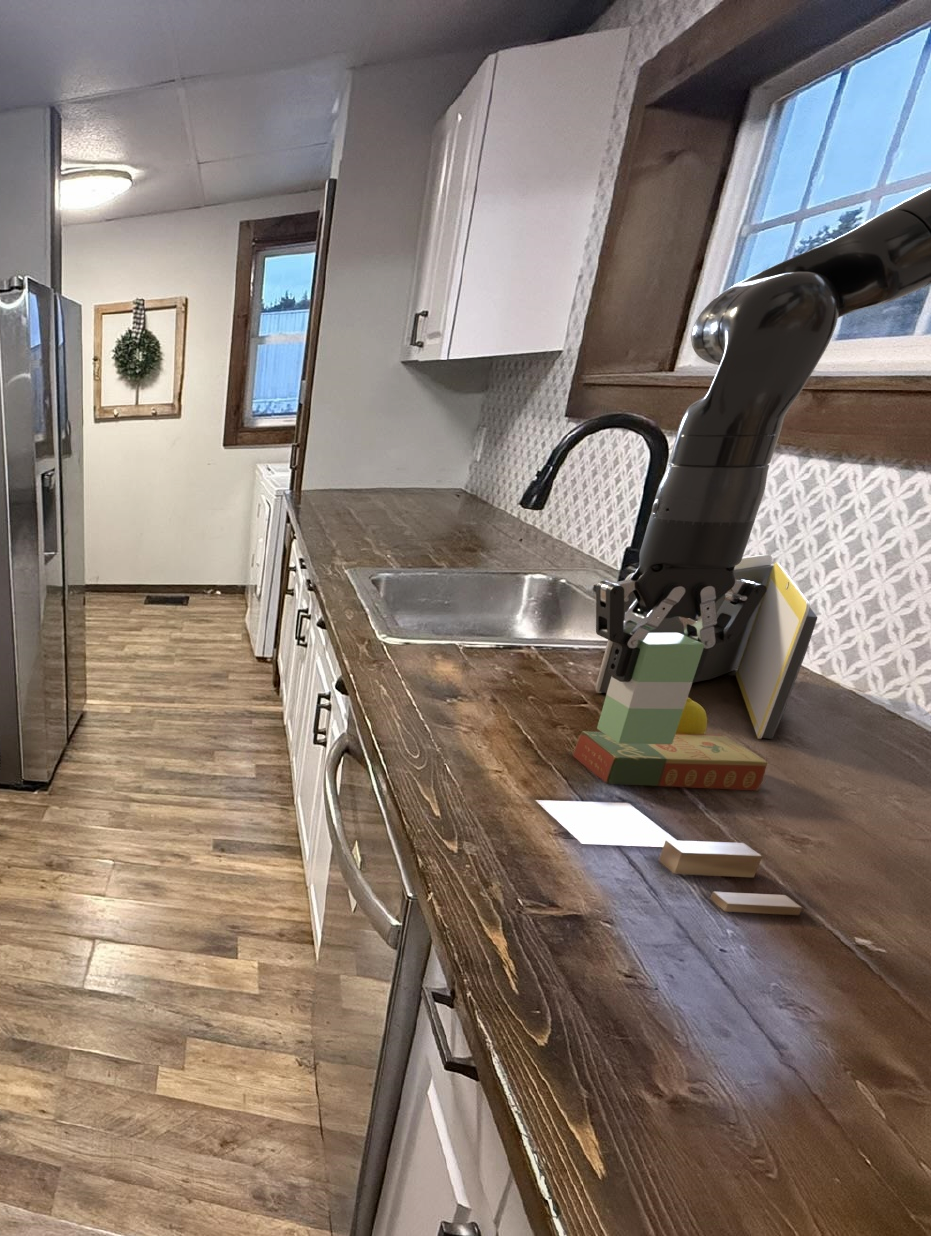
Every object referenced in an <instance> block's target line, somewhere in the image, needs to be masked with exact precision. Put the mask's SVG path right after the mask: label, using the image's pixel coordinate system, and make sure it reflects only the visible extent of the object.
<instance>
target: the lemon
mask: <svg viewBox="0 0 931 1236" xmlns="http://www.w3.org/2000/svg"><path fill="white" fill-rule="evenodd" d="M707 728H708V716H707V712H706V710H705V709H704V707H703V706H701V704H699V703H698V702H696V701H695V700H692V698H690V697H689V696H688V698H687V701H686V704H685V707H684V709H683V712H682V715H681V718H680V721H679V724H678V727H677V730H676V733H675V734H706V731H707Z"/></svg>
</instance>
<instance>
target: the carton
mask: <svg viewBox="0 0 931 1236" xmlns="http://www.w3.org/2000/svg"><path fill="white" fill-rule="evenodd" d="M572 757H573V758H575V759H576V760H577V761H578V762H579V763H581V765H583V766H584V767H585V768H587V769H588V770H589V771H591V772H592V774H594V775H595V776H596V777H598V778H599V779H601V781H602V782H604V783H605V784H608V785H629V786H630V785H633V786H650V787H651V786H654V787H655V786H656V787H674V788H675V787H676V788H697V789H719V790H720V789H721V790H743V791H744V790H745V791H759V790H760V787H761V786H762V782H763V780H764V777H765V773H766V770H767V766H768V761H766V760H765V759H764V758H762V757H761V756H759V755H757V754H756V753H754V752H752V751H751V750H750V749H748V748H747V747H744V746H742V745H741V744H739V743H737V742H735V741H734V740H732V739H730V738H728V737H727V736H725V735H723V734H708V733H707V734H706V733H705V734H675V736H674V739H673V742H672V744H619V743H617V742H616V741H614V740H613V739H611V738H610V737H608V736H607V735H606V734H604V733H603V732H601V731H589V730H588V731H587V730H584V731H581V733H580V734H579V737H578V738H577V742H576V745H575V747H574V751H573V755H572Z"/></svg>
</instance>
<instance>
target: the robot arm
mask: <svg viewBox="0 0 931 1236" xmlns="http://www.w3.org/2000/svg"><path fill="white" fill-rule="evenodd" d="M929 285H931V187H929V188H927V189H924V190H923V191H921V192H919V193H918V194H916V195H913V196H911V197H909V198H908V199H905V200H904V201H902V202H901V203H899V204H897V205H895V206H893V207H891V208H889V209H888V210H886V211H883V212H881V213H880V214H878V215H876V216H874V217H873V218H871V219H869V220H867V221H866V222H864V223H863V224H861V225H859V226H857V227H856V228H854V229H852V230H850V231H849V232H846V233H844V234H843V235H841V236H838V237H837V238H835V239H832V240H830V241H828V242H825V243H822V244H821V245H819V246H816V247H814V248H812V249H809V250H807V251H805V252H802V253H800V254H798V255H796V256H793V257H791V258H789V259H786V260H784V261H782V262H780V263H777V264H775V265H773V266H771V267H769V268H766V269H764V270H762V271H760V272H758V273H756V274H754V275H752V276H750V277H748V278H746V279H744V280H742V281H740V282H738V283H736V284H734V285H733V286H731V287H729V288H728V289H726V290H724V291H722V292H721V293H720V294H718V295H717V296H715V298H714V299H712V300H711V301H710V302H709V303H708V304H707V305H706V306H705V307H704V309H703V310H702V311H701V312H700V314H699V315H698V316H697V318H696V320H695V322H694V324H693V326H692V330H691V335H690V342H691V346H692V349H693V351H694V353H695V354H696V355H697V356H698V357H699V358H700V359H701V360H703V361H704V362H707V363H709V364H713V365H714V366H718V368H717V371H716V373H715V376H714V378H713V380H712V382H711V385H710V387H709V389H708V391H707V393H706V394H705V396H703V397H702V398H700V399H698V400H696V401H694V402H693V403H691V404H690V405H689V406H688V408H686V411H685V412H684V414H683V415H682V417H681V418H682V419H681V420H680V422H679V426H678V428H677V433H676V436H675V438H674V439H675V440H674V443H673V447H672V450H671V454H670V458H669V460H668V464H667V467H666V470H665V472H664V474H663V475H662V476H663V477H662V479H661V481H660V483H659V485H658V488H657V491H656V494H655V498H654V502H653V504H652V506H651V507H652V508H651V512H650V515H649V518H648V523H647V526H646V530H645V533H644V536H643V540H642V543H641V547H640V550H639V553H638V554H639V555H638V556H639V563H638V567H637V569H636V570H635V571H634V572H633V573H634V574H633V575H632V576H631V578H630V579H628V580H625V579H624V580H620V581H615V582H611V581H609V580H601V581H599V582H598V583H597V584H596V585H595V633H596V635H598V636H599V637H601V638H603V639H605V640H607V641H608V640H610V641H612V642H614V648H613V652H612V655H611V659H610V663H609V666H608V671H609V672H610V673H611V675H612V677H613V678H614V679H616V680H618V681H620V682H630V681H631V679H632V676H633V672H634V669H635V665H636V662H637V659H638V655H639V652H640V649H639V648H637V647H638V646H640V644H641V643H642V642H643V640H644V639H645V638H646V636H647V635H648V634H649V632H650V631H651V630H653V629H656V628H657V627H658V626H659V625H660V623H661V622H662V621H663V619H664V618H672V617H677V616H679V619H680V621H681V622H682V623H683V626H684V634H685V636H687V637H689V638H691V639H694V640H696V641H699V642H701V643H703V644H705V645H704V648H703V651H702V654H701V657H700V660H699V663H698V667H697V670H696V673H695V676H694V678H695V677H698V675H699V674H700V673H701V670H702V667H703V663H704V661H705V658H706V655H707V652H708V650H709V648H711V647H713V646H714V645H715V644H717V643H721V642H727V643H731V642H734V641H735V640H736V639H737V638H738V636H739V635H740V633H741V631H742V630H743V628H744V626H745V625H746V623H747V622H748V620H749V618H750V617H751V615H752V614H753V612H754V610H755V609H756V607H757V606H758V604H759V602H760V601H761V599H762V598H763V596H764V594H765V593H766V591H767V588H766V586H765V585H762V584H759V583H756V582H752V581H748V580H744V579H742V580H736V578H735V575H734V567H735V566H736V565H738V564H739V563H740V562H741V560H742V558H744V554H745V551H746V548H747V545H748V542H749V540H750V536H751V533H752V530H753V527H754V524H755V522H756V518H757V515H758V512H759V509H760V507H761V503H762V500H763V497H764V495H765V491H766V485H767V479H768V473H769V468H770V464H771V462H772V459H773V456H774V453H775V450H776V448H777V444H778V441H779V439H780V435H781V432H782V428H783V424H784V421H785V418H786V415H787V414H788V411H789V410H790V408H792V407H791V406H792V405H793V403H794V402H795V401H796V399H797V398H798V396H799V395H800V394H801V392H802V391H803V389H804V387H805V385H806V384H807V382H808V381H809V379H810V377H811V375H812V374H813V373H814V370H815V369H816V367H817V365H818V364H819V362H820V361H821V359H822V357H823V355H824V353H825V351H826V350H827V348H828V347H829V345H830V342H831V340H832V337H833V335H834V332H835V329H836V326H837V323H838V320H839V318H841V317H843V316H845V315H848V314H852V313H853V312H857V311H861V310H863V309H867V308H872V307H877V306H880V305H884V304H887V303H890V302H893V301H896V300H898V299H900V298H903V297H906V296H907V295H910V294H912V293H914V292H917V291H918V290H921V289H923V288H925V287H927V286H929ZM631 592H633V594H634V596H635V597H636V600H635V601H634V603H633V604H632V605H631V607H630V608H629V609H628V611H627V612H626V614H625V616H624V602H627V601H628V600H629V598H628V597H629V594H630V593H631ZM723 595H725V598H726V599H725V601H724V602H723V604H722V606H721V607H720V609H719V610H718V612H717V614H716V609H715V602H716V601H718V600H719V599H720V598H721V597H722V596H723ZM644 612H646V613H648V615H647V616H645V617H644V616H643V615H644ZM624 618H625V620H624ZM693 680H694V679H693Z"/></svg>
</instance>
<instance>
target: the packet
mask: <svg viewBox="0 0 931 1236" xmlns="http://www.w3.org/2000/svg"><path fill="white" fill-rule="evenodd" d="M704 645H705V644H703V643H701V642H699V641H696V640H694V639H691V638H689V637H687V636H684V635H682V634H680V633H649V634H648V635H647V636H646V638H645V639H644V640H643V642H642V643H641V644H640V646H638V647H637V648H639V649H640V652H639V655H638V659H637V662H636V665H635V669H634V672H633V676H632V679H631V681H630V682H620V681H618V680H616V679H614V678H613V677H611V680H610V684H609V687H608V691H607V693H605V698H604V701H603V706H602V710H601V713H600V715H599V716H600V717H599V720H598V723H597V727H596V729H597V730H598V731H599V732H603V733H604V734H606V735H607V736H608V737H610V738H611V739H613V740H614V741H616V742H617V743H619V744H672V742H673V739H674V736H675V733H676V730H677V727H678V724H679V721H680V718H681V715H682V712H683V709H684V707H685V704H686V701H687V698H688V697H689V695H690V691H691V689H692V685H693V683H692V682H693V679H694V676H695V673H696V670H697V667H698V663H699V660H700V657H701V654H702V651H703V648H704Z"/></svg>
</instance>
